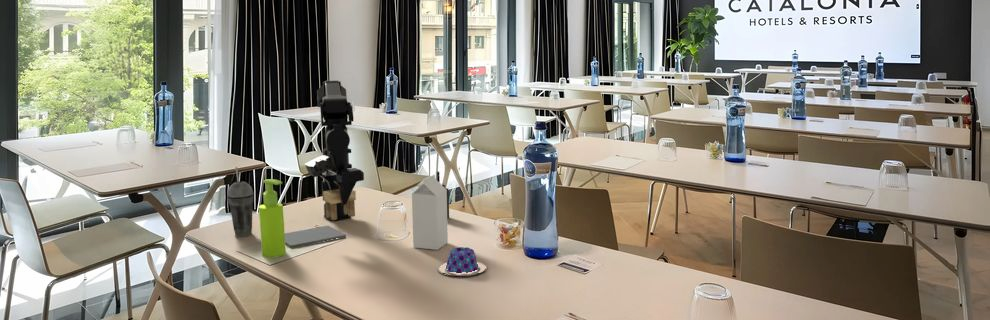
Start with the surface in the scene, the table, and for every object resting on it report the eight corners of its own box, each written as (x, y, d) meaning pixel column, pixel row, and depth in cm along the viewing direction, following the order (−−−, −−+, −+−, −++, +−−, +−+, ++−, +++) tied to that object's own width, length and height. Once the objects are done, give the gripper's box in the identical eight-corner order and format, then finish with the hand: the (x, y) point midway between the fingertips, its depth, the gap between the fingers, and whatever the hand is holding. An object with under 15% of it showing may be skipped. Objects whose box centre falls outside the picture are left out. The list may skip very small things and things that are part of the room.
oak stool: (348, 212, 192) (347, 187, 191) (356, 216, 188) (355, 190, 187) (324, 216, 188) (323, 191, 187) (332, 220, 184) (331, 194, 183)
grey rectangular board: (328, 228, 206) (328, 225, 206) (346, 237, 197) (345, 234, 197) (275, 237, 197) (275, 235, 197) (291, 248, 187) (290, 245, 187)
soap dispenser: (275, 259, 178) (270, 183, 174) (257, 255, 182) (252, 180, 178) (293, 253, 183) (288, 179, 179) (275, 249, 187) (270, 176, 183)
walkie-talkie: (442, 215, 219) (441, 169, 216) (450, 217, 217) (449, 170, 214) (432, 219, 215) (431, 171, 212) (440, 221, 213) (439, 173, 210)
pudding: (440, 262, 176) (439, 242, 175) (487, 262, 176) (487, 242, 175) (435, 279, 165) (434, 258, 164) (486, 279, 164) (485, 258, 163)
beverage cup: (261, 231, 203) (256, 163, 200) (250, 238, 196) (244, 169, 193) (237, 230, 204) (231, 163, 200) (225, 237, 197) (219, 168, 193)
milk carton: (447, 242, 191) (446, 175, 188) (437, 250, 185) (435, 180, 181) (424, 240, 194) (422, 173, 190) (413, 248, 187) (411, 178, 183)
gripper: (294, 144, 187) (297, 200, 190) (322, 153, 172) (326, 214, 175) (333, 139, 194) (335, 194, 196) (363, 148, 179) (366, 207, 182)
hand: (339, 202), depth 187 cm, fingers closed on oak stool, 5 cm apart
